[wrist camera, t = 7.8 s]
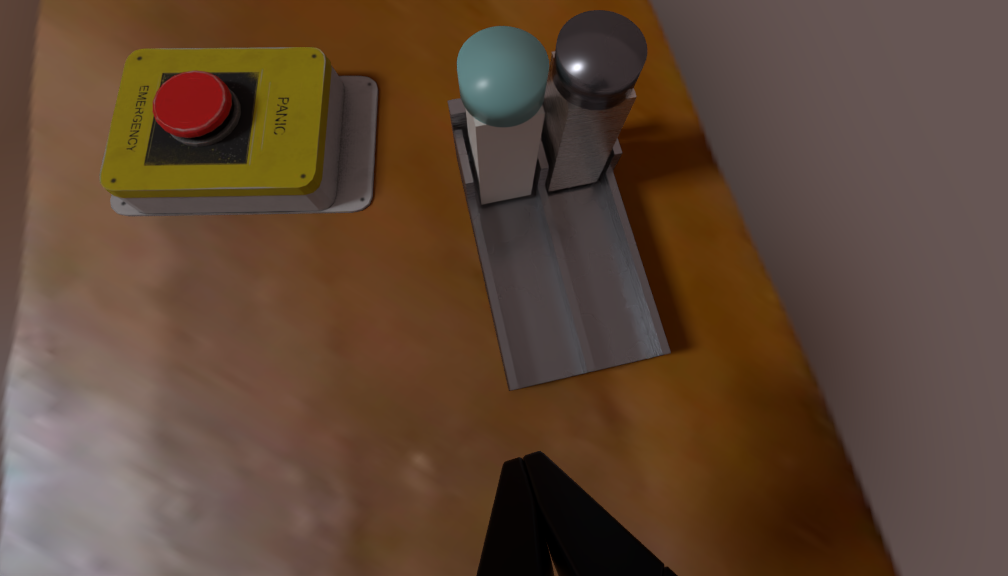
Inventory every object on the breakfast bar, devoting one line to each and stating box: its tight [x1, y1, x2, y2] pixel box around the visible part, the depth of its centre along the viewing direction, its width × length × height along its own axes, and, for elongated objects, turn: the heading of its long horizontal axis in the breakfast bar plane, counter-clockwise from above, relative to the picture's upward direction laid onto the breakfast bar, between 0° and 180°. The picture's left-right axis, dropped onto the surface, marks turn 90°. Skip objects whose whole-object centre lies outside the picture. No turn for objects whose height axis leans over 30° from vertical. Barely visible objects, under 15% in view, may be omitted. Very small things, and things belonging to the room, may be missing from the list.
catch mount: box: [448, 10, 671, 391], centre depth 20 cm, size 14×8×10 cm, turn 13°
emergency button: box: [99, 47, 378, 216], centre depth 24 cm, size 9×4×15 cm
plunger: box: [457, 26, 549, 205], centre depth 20 cm, size 3×3×8 cm
